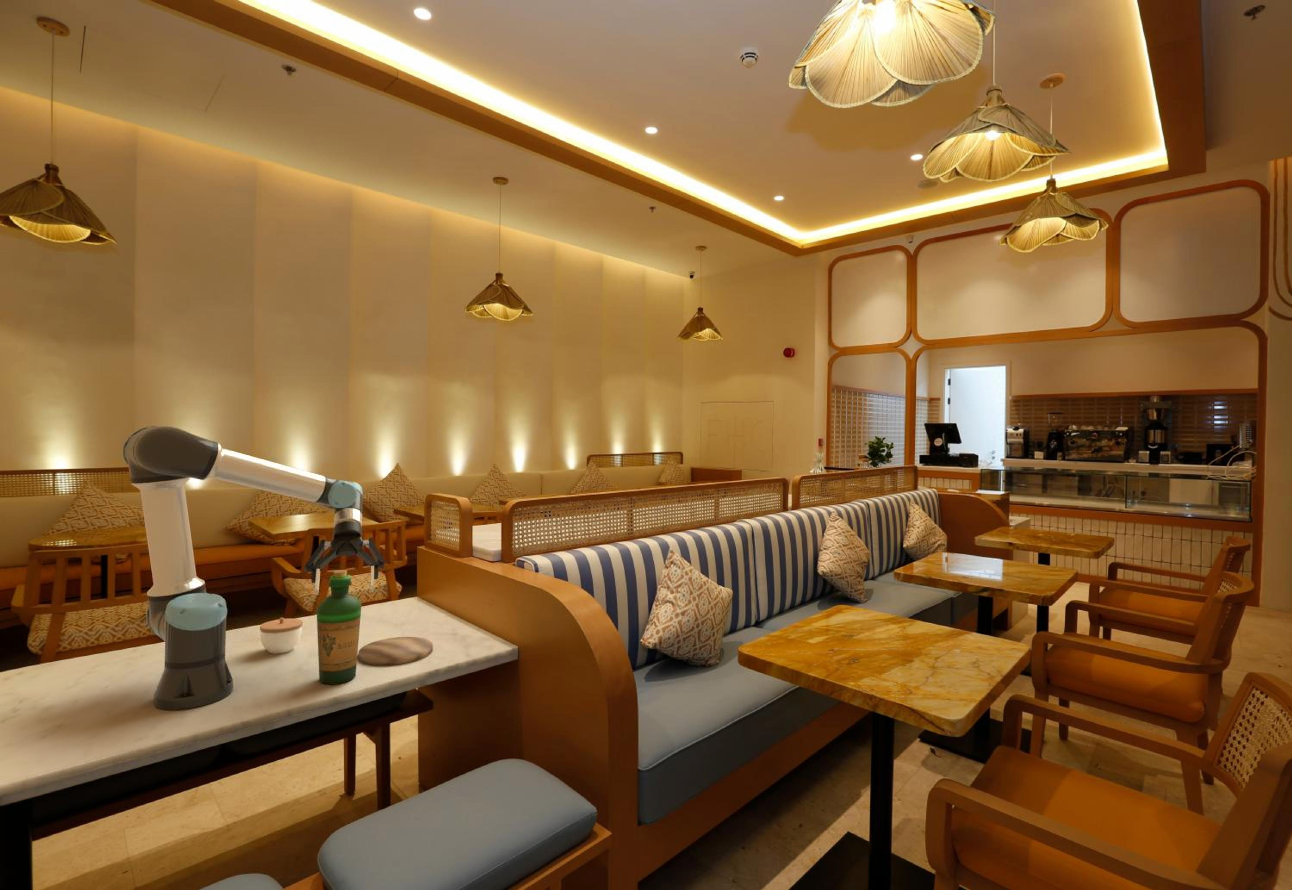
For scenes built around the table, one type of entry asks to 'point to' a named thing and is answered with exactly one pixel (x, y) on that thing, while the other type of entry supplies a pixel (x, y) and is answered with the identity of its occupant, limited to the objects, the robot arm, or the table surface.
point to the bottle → (338, 631)
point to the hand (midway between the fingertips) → (344, 590)
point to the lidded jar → (281, 634)
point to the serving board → (395, 651)
